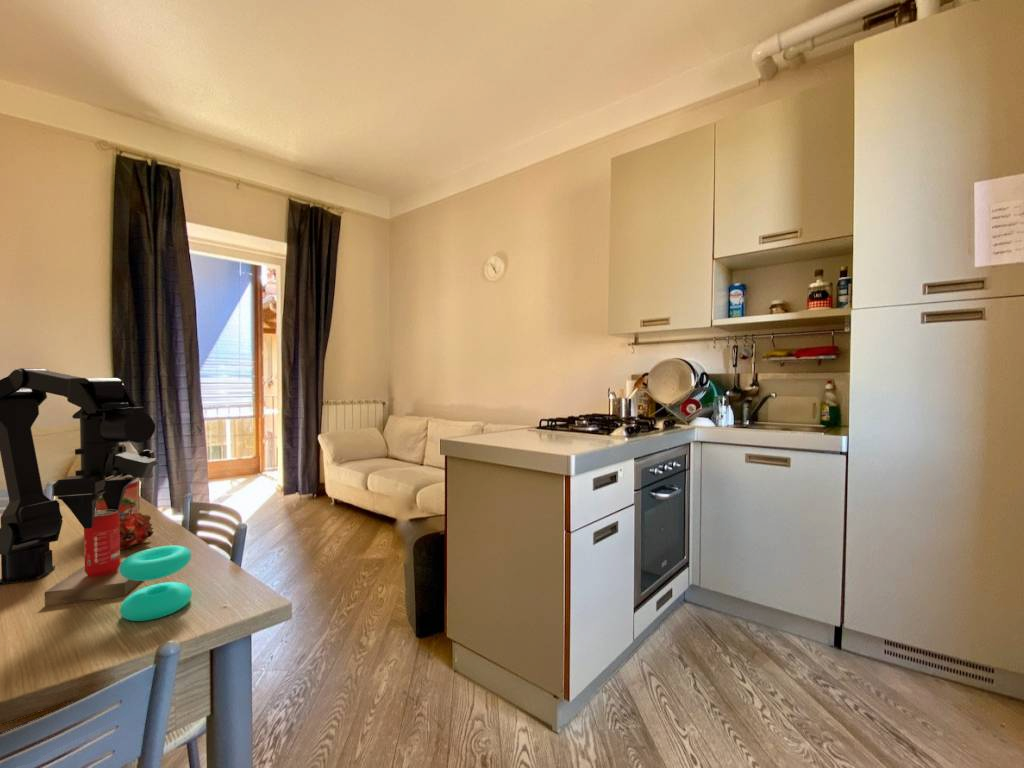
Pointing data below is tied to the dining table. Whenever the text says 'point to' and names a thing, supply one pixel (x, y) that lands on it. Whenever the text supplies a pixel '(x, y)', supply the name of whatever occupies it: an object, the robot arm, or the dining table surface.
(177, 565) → the donuts
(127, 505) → the fruit juice
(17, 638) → the dining table surface
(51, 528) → the robot arm
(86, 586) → the walnut plinth
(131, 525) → the dragon fruit
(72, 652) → the dining table surface
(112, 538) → the beverage can
